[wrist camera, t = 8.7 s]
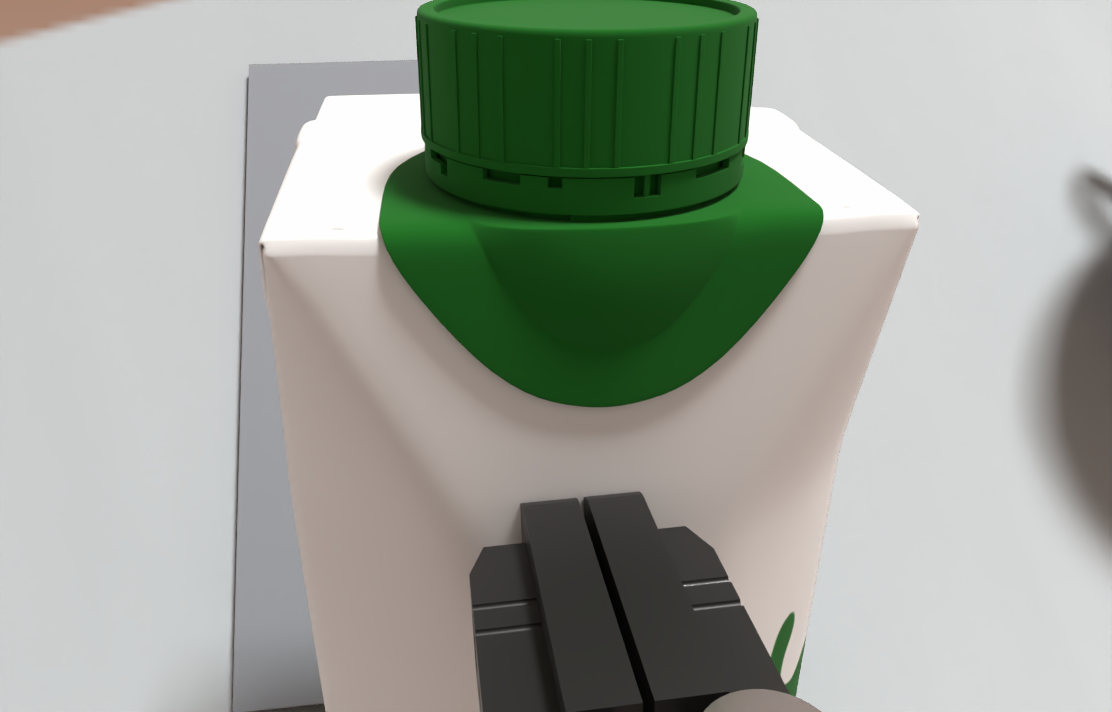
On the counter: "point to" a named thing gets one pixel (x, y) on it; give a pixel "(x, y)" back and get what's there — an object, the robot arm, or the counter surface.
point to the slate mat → (263, 484)
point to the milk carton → (562, 321)
